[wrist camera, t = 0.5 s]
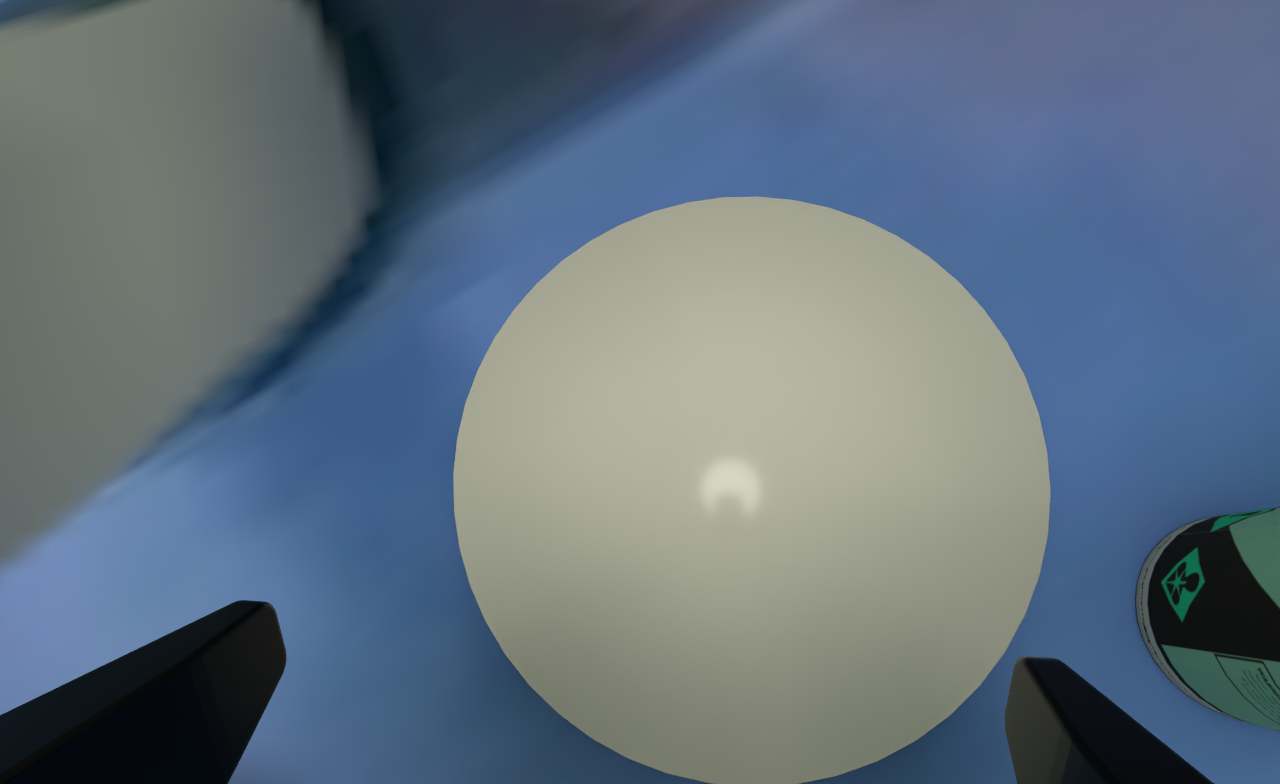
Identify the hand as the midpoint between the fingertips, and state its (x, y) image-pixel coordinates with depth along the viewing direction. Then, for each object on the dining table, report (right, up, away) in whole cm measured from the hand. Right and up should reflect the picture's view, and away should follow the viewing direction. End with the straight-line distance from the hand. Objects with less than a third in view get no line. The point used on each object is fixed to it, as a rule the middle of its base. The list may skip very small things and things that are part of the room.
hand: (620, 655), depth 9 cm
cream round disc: (+3, +1, +15) cm, 15 cm away
